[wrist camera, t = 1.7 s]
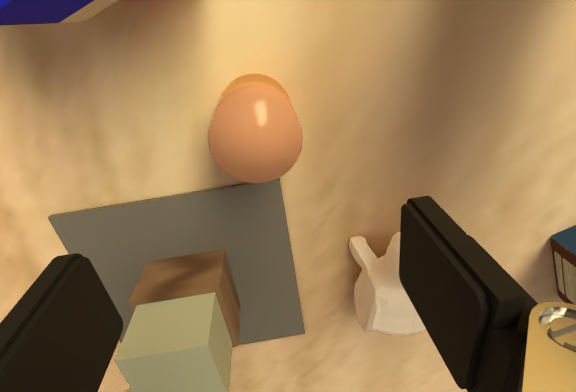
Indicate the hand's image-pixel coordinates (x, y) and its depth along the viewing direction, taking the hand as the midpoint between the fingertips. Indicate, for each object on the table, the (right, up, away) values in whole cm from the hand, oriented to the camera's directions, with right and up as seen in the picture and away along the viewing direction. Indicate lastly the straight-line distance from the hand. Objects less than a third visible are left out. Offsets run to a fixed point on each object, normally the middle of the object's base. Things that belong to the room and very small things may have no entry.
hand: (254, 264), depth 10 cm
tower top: (-8, -9, +19) cm, 22 cm away
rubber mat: (-8, -7, +24) cm, 26 cm away
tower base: (-8, -7, +23) cm, 25 cm away
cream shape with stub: (+11, -4, +24) cm, 27 cm away
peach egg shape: (-2, +9, +16) cm, 18 cm away
